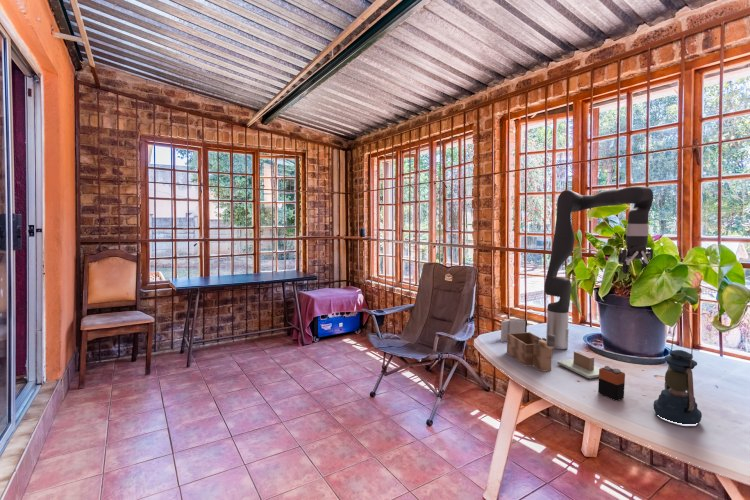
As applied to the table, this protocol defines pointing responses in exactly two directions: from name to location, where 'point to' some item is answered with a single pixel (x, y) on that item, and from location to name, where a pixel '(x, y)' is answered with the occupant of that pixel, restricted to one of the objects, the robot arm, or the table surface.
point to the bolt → (548, 341)
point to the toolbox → (529, 350)
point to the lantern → (679, 388)
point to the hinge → (512, 327)
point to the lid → (581, 365)
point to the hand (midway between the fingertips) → (634, 273)
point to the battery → (611, 383)
